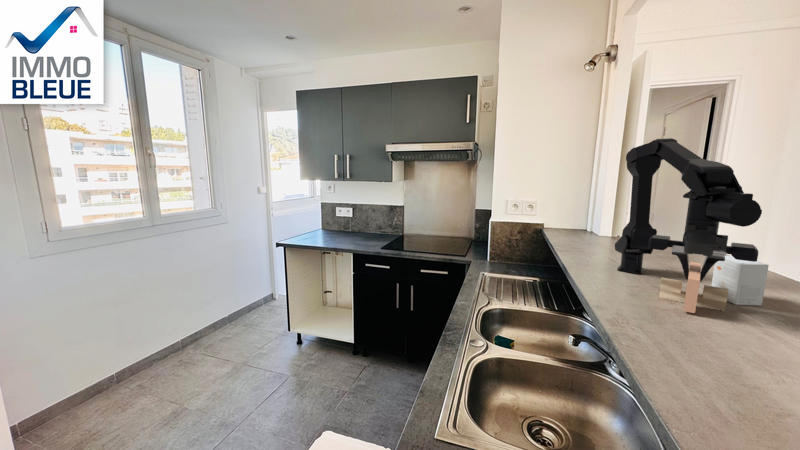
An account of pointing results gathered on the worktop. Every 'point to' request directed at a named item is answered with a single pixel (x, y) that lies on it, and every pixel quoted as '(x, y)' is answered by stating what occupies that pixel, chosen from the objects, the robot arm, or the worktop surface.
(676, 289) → the birch notched block
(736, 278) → the small box
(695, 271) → the terracotta plate
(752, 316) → the worktop surface
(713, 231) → the robot arm
